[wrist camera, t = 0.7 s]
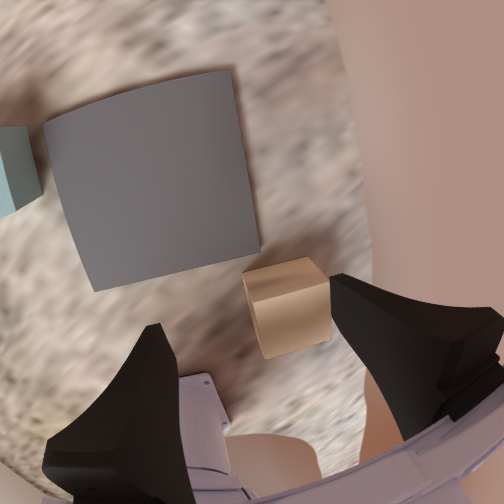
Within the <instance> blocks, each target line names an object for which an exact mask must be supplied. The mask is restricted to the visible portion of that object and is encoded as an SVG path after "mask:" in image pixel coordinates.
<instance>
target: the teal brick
mask: <svg viewBox="0 0 504 504" xmlns="http://www.w3.org/2000/svg"><path fill="white" fill-rule="evenodd" d="M42 195H43V192H42V189H41V185H40V181H39V178H38V174H37V170H36V166H35V162H34V158H33V153H32V149H31V144H30V139H29V134H28V128H27V125H19V126H6V127H0V218H2V217H4V216H6V215H9V214H11V213H13V212H15V211H17V210H19V209H20V208H22V207H24V206H25V205H27V204H28V203H30V202H32V201H34V200H35V199H37V198H39V197H40V196H42Z"/></svg>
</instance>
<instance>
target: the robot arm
mask: <svg viewBox="0 0 504 504" xmlns="http://www.w3.org/2000/svg"><path fill="white" fill-rule="evenodd" d="M329 280H330V302H331V316H332V318H333V320H334V322H335V324H336V325H337V327H338V329H339V331H340V332H341V334H342V335H343V337H344V338H345V339H346V341H347V342H348V343H349V345H350V346H351V347H352V349H353V350H354V351H355V353H356V354H357V355H358V357H359V358H360V359H361V361H362V362H363V363H364V364H365V366H366V367H367V369H368V370H369V371H370V373H371V375H372V376H373V378H374V380H375V382H376V383H377V385H378V387H379V389H380V390H381V392H382V394H383V396H384V398H385V400H386V402H387V404H388V406H389V408H390V410H391V412H392V414H393V416H394V419H395V421H396V423H397V425H398V428H399V430H400V433H401V435H402V437H403V440H404V442H403V443H401V444H400V445H397V446H396V447H394V448H392V449H390V450H388V451H386V452H384V453H382V454H380V455H378V456H376V457H374V458H372V459H370V460H367V461H365V462H363V463H361V464H359V465H356V466H354V467H352V468H349V469H347V470H344V471H342V472H340V473H337V474H334V475H332V476H329V477H327V478H324V479H321V480H318V481H315V482H313V483H310V484H307V485H303V486H300V487H298V488H294V489H291V490H287V491H284V492H280V493H276V494H273V495H269V496H265V497H261V498H260V497H259V496H258V495H257V494H256V493H255V492H254V491H253V490H252V489H251V488H249V487H247V486H241V483H240V479H239V476H231V468H230V463H229V459H228V454H227V450H226V444H225V439H224V434H223V430H228V429H230V428H231V423H230V421H229V419H228V416H227V414H226V412H225V409H224V407H223V405H222V402H221V400H220V398H219V395H218V393H217V390H216V388H215V385H214V383H213V380H212V378H211V375H210V374H208V373H201V374H196V375H192V376H187V377H182V378H179V375H178V368H177V361H176V357H175V355H174V353H173V351H172V348H171V346H170V344H169V342H168V340H167V338H166V335H165V333H164V331H163V329H162V326H161V324H160V323H157V324H153V325H149V326H146V327H145V329H144V331H143V332H142V334H141V336H140V337H139V339H138V341H137V343H136V344H135V346H134V348H133V349H132V351H131V353H130V354H129V356H128V358H127V359H126V361H125V362H124V364H123V365H122V367H121V368H120V370H119V371H118V373H117V374H116V376H115V377H114V379H113V380H112V381H111V383H110V384H109V385H108V387H107V388H106V389H105V390H104V391H103V393H102V394H101V395H100V396H99V397H98V398H97V399H96V400H95V401H94V402H93V403H92V404H91V406H90V407H89V408H88V409H87V410H86V411H85V412H84V413H82V414H81V415H80V416H79V417H78V418H77V419H76V420H74V421H73V422H72V423H71V424H70V425H68V426H67V427H66V428H64V429H63V430H61V431H60V432H59V433H57V434H56V435H54V436H53V437H51V438H50V439H48V440H47V444H46V449H45V453H44V458H43V463H42V471H43V473H44V474H45V476H46V477H47V478H48V479H49V480H51V481H52V482H53V483H54V484H56V485H57V486H59V487H60V488H62V489H63V490H65V491H66V492H68V493H70V494H71V495H73V496H74V498H73V503H72V502H70V501H66V500H62V499H55V498H49V497H43V498H42V504H474V503H473V502H472V500H471V499H470V497H469V496H468V494H467V493H466V491H465V490H464V488H463V487H462V485H461V484H460V481H462V480H463V479H464V478H465V477H467V476H468V475H469V474H470V473H472V472H473V471H474V470H475V469H477V468H478V467H479V466H480V465H481V464H482V463H484V462H485V461H486V460H487V459H488V458H489V457H490V456H491V455H492V454H493V453H495V452H496V451H497V449H499V448H500V447H501V446H502V445H503V444H504V364H503V366H501V365H500V364H499V363H498V361H499V360H500V357H499V356H498V355H497V354H496V353H495V352H496V350H497V347H498V345H499V342H500V340H501V338H502V335H503V332H504V317H502V316H501V315H500V314H499V313H497V312H496V311H495V310H494V309H492V308H491V307H476V308H475V307H472V308H468V307H452V306H443V305H437V304H431V303H426V302H421V301H417V300H413V299H409V298H406V297H403V296H399V295H397V294H394V293H391V292H388V291H385V290H383V289H380V288H378V287H375V286H373V285H370V284H368V283H366V282H363V281H361V280H359V279H356V278H354V277H351V276H349V275H346V274H343V273H341V274H338V275H334V276H331V277H329ZM205 381H208V382H205Z"/></svg>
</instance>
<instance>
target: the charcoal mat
mask: <svg viewBox="0 0 504 504" xmlns="http://www.w3.org/2000/svg"><path fill="white" fill-rule="evenodd" d="M42 125H43V130H44V135H45V140H46V145H47V150H48V154H49V159H50V163H51V167H52V171H53V175H54V179H55V183H56V186H57V190H58V193H59V197H60V200H61V203H62V207H63V210H64V213H65V216H66V219H67V222H68V225H69V228H70V231H71V234H72V237H73V240H74V242H75V245H76V248H77V250H78V253H79V256H80V258H81V261H82V263H83V266H84V268H85V271H86V273H87V276H88V278H89V280H90V283H91V285H92V287H93V290H94V292H97V291H101V290H106V289H110V288H114V287H118V286H122V285H127V284H131V283H135V282H139V281H143V280H147V279H152V278H156V277H160V276H164V275H168V274H172V273H177V272H181V271H185V270H189V269H193V268H197V267H202V266H206V265H210V264H214V263H218V262H222V261H227V260H231V259H235V258H239V257H243V256H247V255H251V254H256V253H260V252H261V250H260V244H259V237H258V231H257V225H256V219H255V213H254V207H253V201H252V195H251V189H250V183H249V178H248V172H247V166H246V160H245V154H244V148H243V142H242V137H241V131H240V125H239V119H238V114H237V108H236V102H235V96H234V91H233V85H232V80H231V74H230V69H228V70H221V71H215V72H209V73H203V74H198V75H192V76H187V77H182V78H178V79H173V80H169V81H165V82H161V83H156V84H153V85H149V86H145V87H141V88H138V89H134V90H131V91H127V92H124V93H121V94H118V95H115V96H111V97H108V98H105V99H103V100H100V101H97V102H94V103H91V104H88V105H86V106H83V107H81V108H78V109H75V110H73V111H70V112H68V113H65V114H63V115H61V116H58V117H56V118H54V119H51V120H49V121H47V122H45V123H43V124H42Z"/></svg>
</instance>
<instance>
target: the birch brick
mask: <svg viewBox="0 0 504 504" xmlns="http://www.w3.org/2000/svg"><path fill="white" fill-rule="evenodd" d="M242 278H243V283H244V287H245V292H246V297H247V302H248V306H249V311H250V316H251V320H252V325H253V329H254V331H255V334H256V337H257V339H258V342H259V345H260V348H261V350H262V353H263V356H264V359H265V360H266V359H270V358H273V357H277V356H280V355H284V354H287V353H290V352H294V351H297V350H300V349H303V348H306V347H309V346H312V345H316V344H319V343H322V342H325V341H327V340H330V339H331V302H330V280H329V279H328V278H327V277H326V276H325V274H324V273H323V272H322V271H321V270H320V269H319V268H318V267H317V266H316V265H315V263H314V262H313V261H312V260H311V259H310V258H309V257H308V256H307V257H303V258H299V259H295V260H291V261H288V262H284V263H280V264H276V265H272V266H268V267H264V268H260V269H256V270H252V271H248V272H244V273H242Z"/></svg>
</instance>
